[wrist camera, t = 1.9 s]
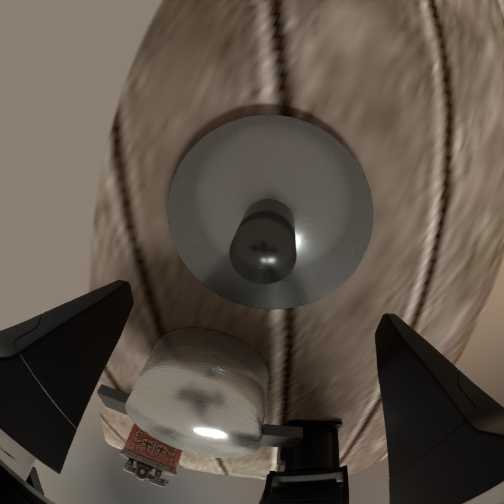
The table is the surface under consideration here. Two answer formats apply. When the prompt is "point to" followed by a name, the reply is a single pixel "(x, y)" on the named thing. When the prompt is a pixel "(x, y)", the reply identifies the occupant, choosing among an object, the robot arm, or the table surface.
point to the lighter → (150, 457)
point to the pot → (203, 396)
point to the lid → (270, 212)
